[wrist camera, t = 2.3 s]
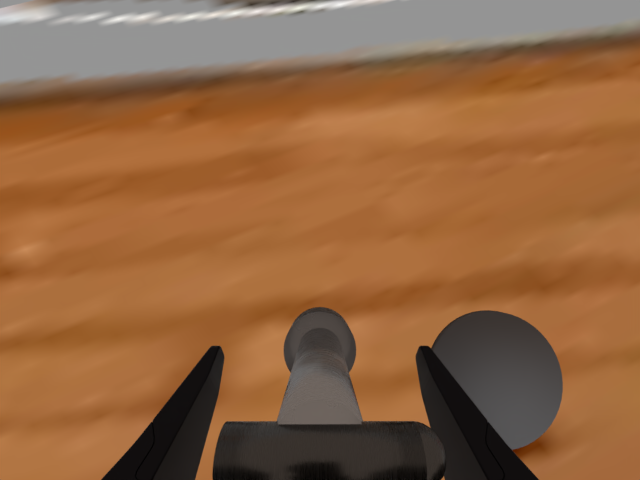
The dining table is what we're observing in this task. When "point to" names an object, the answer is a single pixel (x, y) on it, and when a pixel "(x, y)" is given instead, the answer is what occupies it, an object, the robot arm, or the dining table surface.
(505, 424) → the mat
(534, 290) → the dining table surface
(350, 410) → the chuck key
